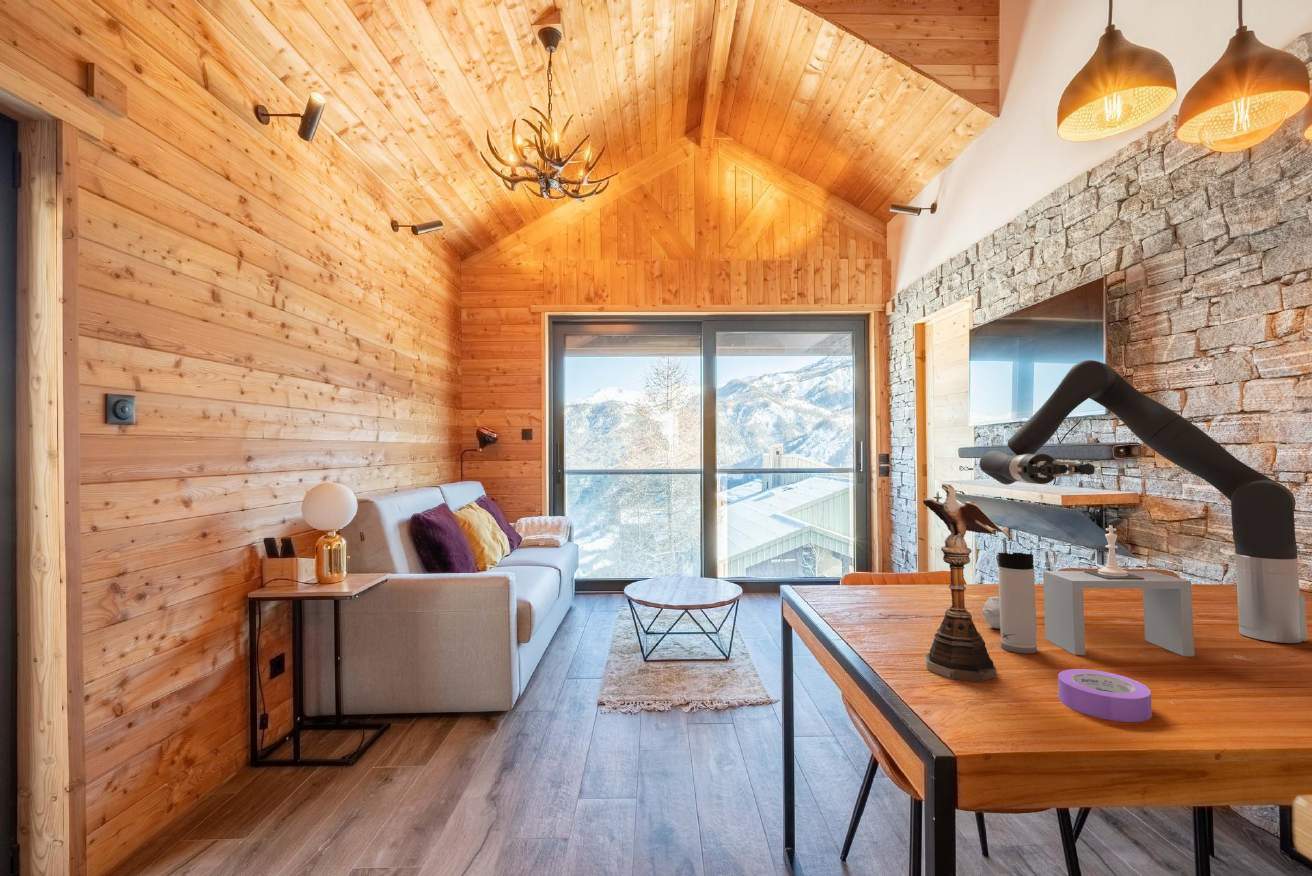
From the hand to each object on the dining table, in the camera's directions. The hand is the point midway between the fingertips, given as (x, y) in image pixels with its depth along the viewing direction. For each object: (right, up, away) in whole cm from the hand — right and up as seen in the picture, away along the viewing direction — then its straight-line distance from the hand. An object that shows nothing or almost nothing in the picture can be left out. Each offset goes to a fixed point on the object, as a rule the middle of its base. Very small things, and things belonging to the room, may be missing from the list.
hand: (1072, 469), depth 133 cm
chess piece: (-1, -21, -13) cm, 25 cm away
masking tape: (-24, -35, -40) cm, 59 cm away
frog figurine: (-16, -36, +1) cm, 40 cm away
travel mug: (-21, -36, -14) cm, 44 cm away
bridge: (0, -36, -13) cm, 38 cm away
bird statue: (-36, -36, -22) cm, 56 cm away
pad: (-1, -21, -13) cm, 25 cm away
